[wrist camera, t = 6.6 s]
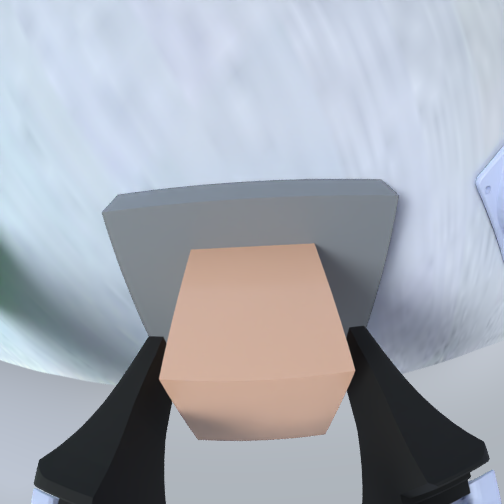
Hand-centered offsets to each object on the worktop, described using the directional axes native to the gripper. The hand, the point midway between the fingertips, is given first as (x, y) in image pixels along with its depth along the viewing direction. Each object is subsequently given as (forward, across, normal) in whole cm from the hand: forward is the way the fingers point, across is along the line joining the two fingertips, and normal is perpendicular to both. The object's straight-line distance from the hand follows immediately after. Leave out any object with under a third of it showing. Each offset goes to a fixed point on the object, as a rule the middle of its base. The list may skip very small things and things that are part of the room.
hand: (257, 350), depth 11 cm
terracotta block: (+3, 0, 0) cm, 3 cm away
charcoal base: (+5, 0, 0) cm, 5 cm away
